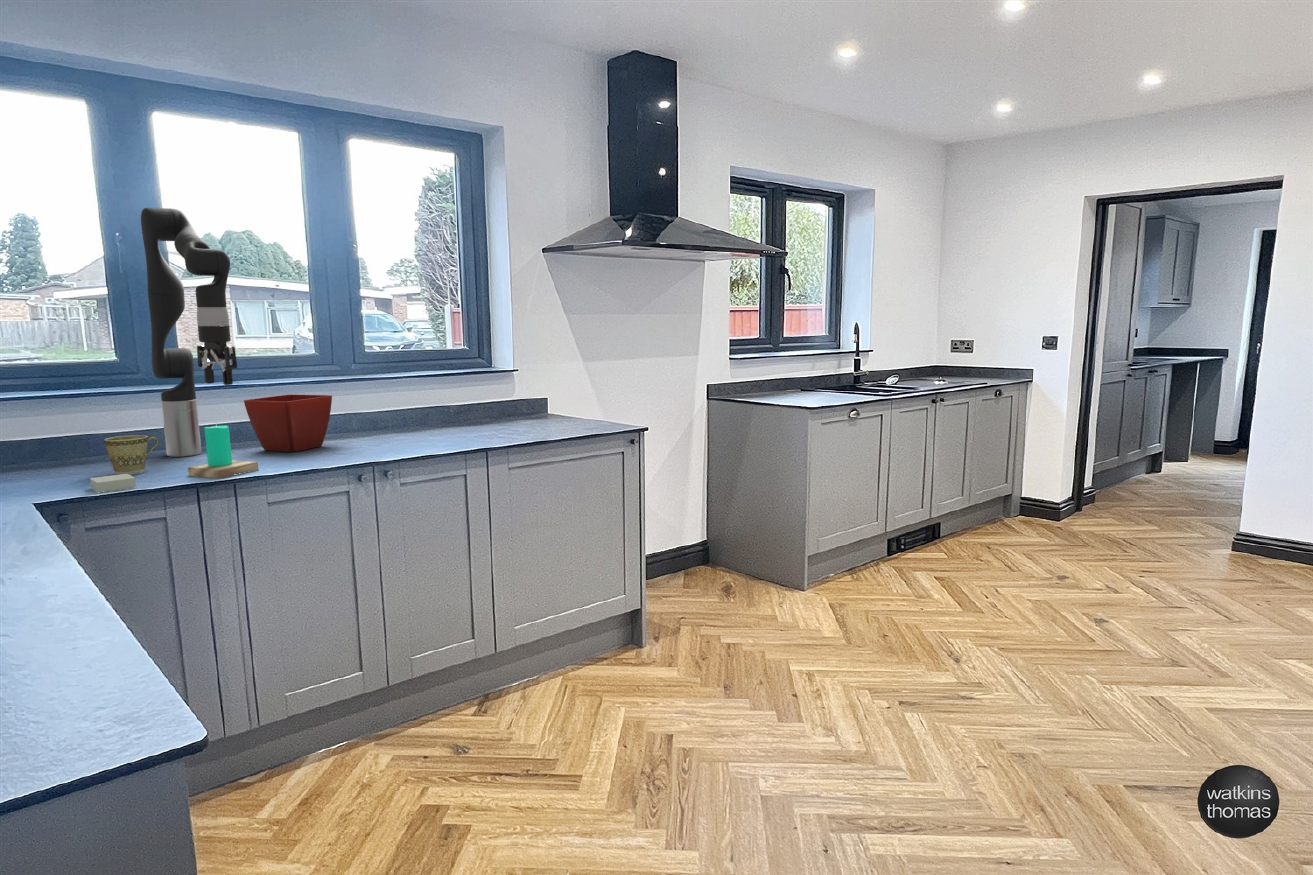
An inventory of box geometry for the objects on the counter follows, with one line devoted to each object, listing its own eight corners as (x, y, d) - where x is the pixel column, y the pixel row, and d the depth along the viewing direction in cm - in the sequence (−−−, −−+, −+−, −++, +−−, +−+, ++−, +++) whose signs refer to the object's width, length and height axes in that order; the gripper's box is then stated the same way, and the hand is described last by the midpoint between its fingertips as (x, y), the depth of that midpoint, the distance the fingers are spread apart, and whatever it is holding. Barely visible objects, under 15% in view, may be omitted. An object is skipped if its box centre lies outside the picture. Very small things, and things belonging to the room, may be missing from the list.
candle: (210, 467, 211) (206, 423, 210) (205, 464, 216) (201, 421, 214) (235, 464, 215) (230, 421, 213) (229, 461, 220) (225, 419, 218)
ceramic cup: (118, 478, 209) (114, 441, 208) (101, 474, 214) (97, 438, 213) (169, 470, 220) (166, 435, 218) (152, 466, 225) (148, 432, 224)
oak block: (188, 478, 212) (187, 467, 211) (226, 470, 223) (225, 459, 223) (222, 480, 208) (221, 469, 207) (258, 472, 219) (257, 461, 219)
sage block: (91, 489, 197) (90, 478, 196) (128, 484, 202) (127, 473, 202) (98, 494, 191) (96, 482, 191) (136, 489, 197) (135, 477, 196)
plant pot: (246, 451, 250) (241, 399, 247) (294, 442, 267) (290, 393, 264) (291, 455, 242) (286, 401, 240) (337, 445, 260) (333, 395, 257)
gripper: (184, 324, 212) (190, 384, 214) (215, 324, 205) (221, 386, 207) (211, 324, 218) (217, 381, 221) (242, 324, 211) (247, 384, 214)
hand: (219, 384), depth 214 cm, fingers open, 8 cm apart
